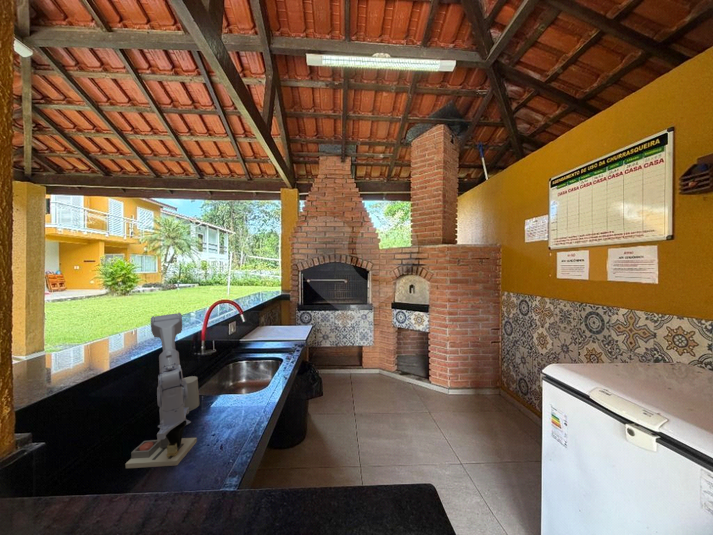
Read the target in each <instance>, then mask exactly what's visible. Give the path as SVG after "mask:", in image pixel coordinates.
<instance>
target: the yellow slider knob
mask: <svg viewBox="0 0 713 535" xmlns="http://www.w3.org/2000/svg"><path fill="white" fill-rule="evenodd" d="M178 452H179V450H178V451H177V443H169V444H168V445H167V455H166V456H176V454H177V453H178Z"/></svg>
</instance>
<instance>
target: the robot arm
mask: <svg viewBox="0 0 713 535" xmlns="http://www.w3.org/2000/svg"><path fill="white" fill-rule="evenodd" d="M150 331H151V332H152V336H153V337H154V338H159V339H160V341H161V347H162V352H161V353H160V354H159V356H158V361H159V362H158V364H159V374H158V376H157V379H158V380H157V381H158V382H157V388H156V396H157V397H156V398H157V399H156V400H157V401H156V402H157V407H159V410H158V412H159V424H158V425H157V428H159V431H158V432H157V434H156V438H157V439H156V440H162V439H165V438H166V437H167V439H168V440H169V442H170V443H177V448H178V447H179V446H180V445H181V440H182V438H183V434H184V431H185V427H186V426H188V425H189V424H191V423H192V421H191V420H189V419H187V417H186V416H187V415H189V414H190V411H189V407H188V408H185V400H186V399H187V398H188V390H187V383H186V380H185V379H184V378H185V377H184V375H183V369H182V366H181V362H180V352H179V350H177V349H176V337H177V336H178V335H179V334H181V333H182V331H183V317H182V313H181V312H178V313H169V314H163V315H156V316H153V315H152V316H151V317H150Z"/></svg>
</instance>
